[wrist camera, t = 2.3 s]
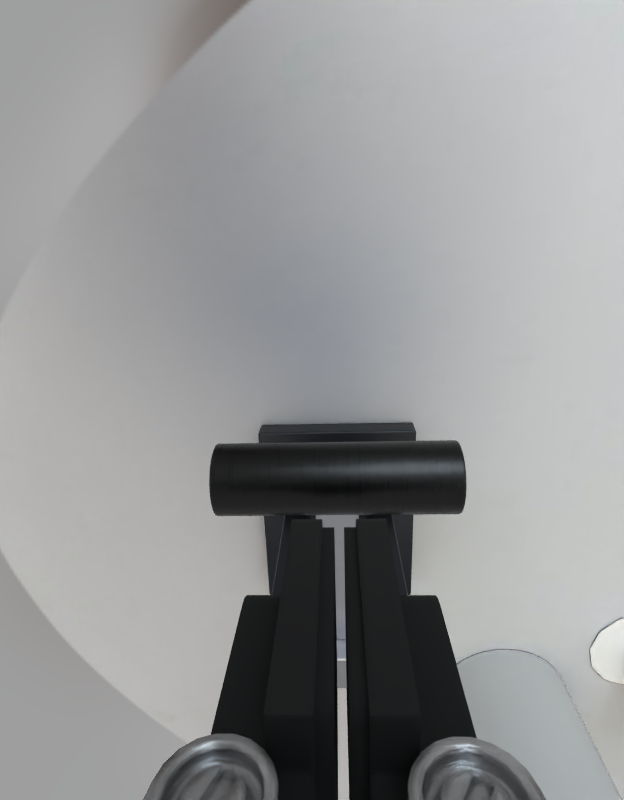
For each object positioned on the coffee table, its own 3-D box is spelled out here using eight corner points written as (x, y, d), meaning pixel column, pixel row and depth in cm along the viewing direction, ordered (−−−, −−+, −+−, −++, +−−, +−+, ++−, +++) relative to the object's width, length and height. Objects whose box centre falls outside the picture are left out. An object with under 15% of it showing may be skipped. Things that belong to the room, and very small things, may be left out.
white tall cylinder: (492, 766, 35) (567, 1024, 24) (408, 699, 34) (445, 941, 23) (592, 701, 33) (726, 950, 22) (508, 627, 32) (604, 853, 20)
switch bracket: (261, 424, 28) (213, 558, 17) (413, 422, 28) (465, 557, 17) (271, 582, 31) (237, 781, 20) (407, 581, 31) (449, 785, 20)
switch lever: (218, 420, 14) (202, 497, 12) (454, 416, 13) (473, 494, 12) (267, 625, 22) (262, 688, 20) (412, 625, 22) (420, 689, 20)
